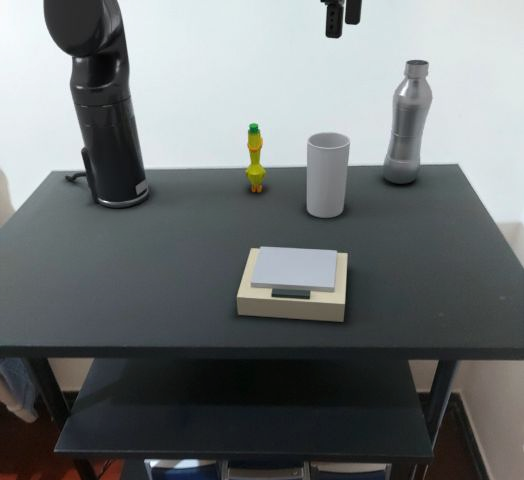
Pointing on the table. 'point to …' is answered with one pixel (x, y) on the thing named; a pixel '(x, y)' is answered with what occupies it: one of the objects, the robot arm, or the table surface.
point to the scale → (294, 284)
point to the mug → (327, 173)
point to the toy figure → (255, 158)
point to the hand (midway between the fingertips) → (343, 30)
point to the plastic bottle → (408, 123)
